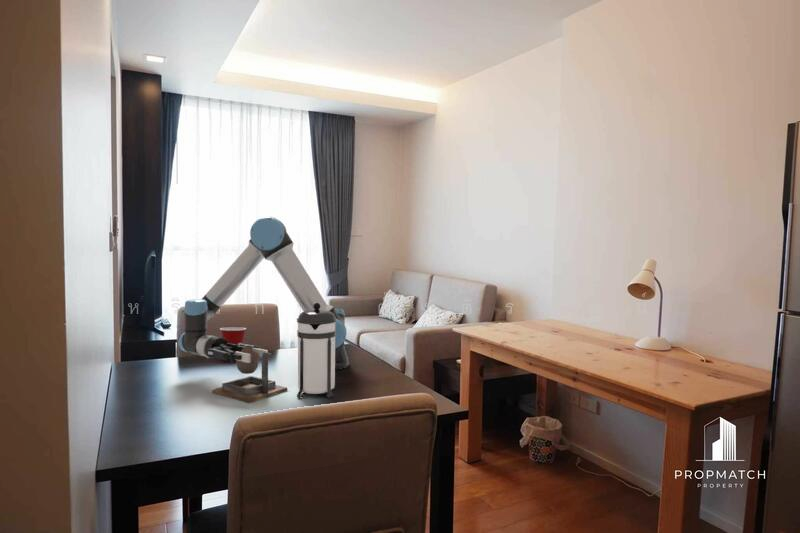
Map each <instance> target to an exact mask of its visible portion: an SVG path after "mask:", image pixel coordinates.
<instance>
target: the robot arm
mask: <svg viewBox="0 0 800 533" xmlns="http://www.w3.org/2000/svg"><path fill="white" fill-rule="evenodd" d="M249 234H250V239H249V240H248V245H247V247H246V248H245V249H244V250H243V251H242V252H241V254H240V255H238V257H237V258H236V259H235V260H234V262H233V263H231V265H230V266H229V267H228V269H226V270H225V272H224V273H223V274H222V275H221V276H220V277H219V278H218V280H217V281H216V282H215V284H213V285H212V287H210V289H209V290H208V291H207V292H206V293H205V295H203V297H202V298H198V299H197V298H194V299H187V300H186V301H185V302H184V309H183V311H184V330H183V331H184V332H183V333H182V334H181V335H180V336H179V339H178V347H179V348H180V350H181V351H183V352H186V353H188V354H191V355H197V356H202V357H205V358H206V359H209V358H210V359H213V360H214V359H215V360H222V361H226V362H227V361H230V363H235V361H236V362H237V361H242V362H246V363H251V354H247V353H242V352H241V351H242V349H243V348H244V346H247V345H249V346H252V348H253V350H254V351H255V352H256V354H257V356H258V359H262V355H263V352H267V353H269V351H268V350H267V349H264V348H260V346H258V345H253V344H247V343H243V342H242V343H238V344H232V343H228V342H227V340H226V339H224V338H223V337H221V336H216V335H211V334H208V321H210V320H211V319H213V318H214V317H215V316H216V315H217V313H218V311H219V310H220V309H221V307H223V305H224V304H225V303H226V302H227V301H228V300H229V299H230V298H231V297H232V295H233V294H234V293H235V292H236V291H237V289H238V288H239V287H240V286H241V285H242V284H243V283H244V282H245V280H246V279H247V278H248V277H249V276H250V275H251V274H252V273H253V271H254V270H255V269H256V268H257V267H258V265H260V264H261V262H262V261H263V260H265V261H268V262H271V263H272V264H273V265H274V268H275V269H276V271H277V272H278V274H279V275H280V277H281V278H282V279H283V281H284V283H285V285H286V286H287V288H288V289H289V292H291V294H292V295H293V297H294V299H295V301H296V302H297V304H298V306H299V307H300V308H301V310H302V312H304V311H308V310H315V309H314V307H313V306H314V304H315V303H319V304H320V308H319V310H326V311H330V312H332V313H333V314H334V315H335V318H336V319H337V321H336V323H335V329H336V336H335V369H340V368H344V367H346V366H348V365H349V364H350V363H349V357H348V355H347V354H348V353H347V351H346V348H345V340H346V337H347V333H348V332H347V327H346V325H345V319H346V314H345V310H344V309H342V308H340V309H339V308H338V309H337V308H335V307H334V306H333V305H330V304H327V302H326V301H325V299H324V297H323V296H322V294H321V293H320V291H319V289H318V288H317V286H316V285H315V283H314V282H313V280H312V278H311V276H310V275H309V274H308V273H309V272H307V270H306V269H305V267H304V265H303V264H302V262H301V260H300V259H299V257H298V256H297V255H296V253H295V251H294V250H293V248H294V242H293V240H292V238H291V237H290V235H289V234H288V232H287V229H286V226H285V224H284V223H283V222H282V221H281V220H279V219H277V218H276V217H273V216H263V217H260V218H258V219H257V220H256V221H254V223H253V224H252V225H251V227H250V232H249ZM234 352H235V353H234ZM348 367H349V366H348Z"/></svg>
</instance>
